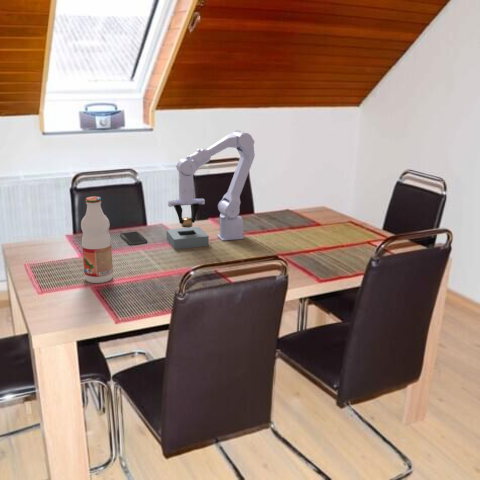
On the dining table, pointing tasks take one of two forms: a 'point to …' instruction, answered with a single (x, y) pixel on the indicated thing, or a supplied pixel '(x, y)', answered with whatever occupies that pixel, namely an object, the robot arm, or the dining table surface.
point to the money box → (187, 237)
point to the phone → (133, 238)
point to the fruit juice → (96, 243)
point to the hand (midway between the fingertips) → (186, 222)
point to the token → (186, 222)
